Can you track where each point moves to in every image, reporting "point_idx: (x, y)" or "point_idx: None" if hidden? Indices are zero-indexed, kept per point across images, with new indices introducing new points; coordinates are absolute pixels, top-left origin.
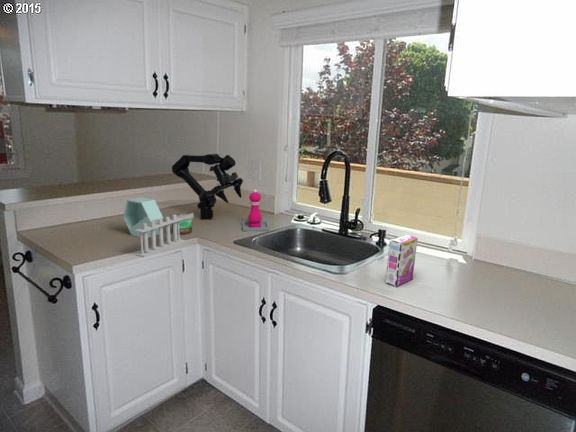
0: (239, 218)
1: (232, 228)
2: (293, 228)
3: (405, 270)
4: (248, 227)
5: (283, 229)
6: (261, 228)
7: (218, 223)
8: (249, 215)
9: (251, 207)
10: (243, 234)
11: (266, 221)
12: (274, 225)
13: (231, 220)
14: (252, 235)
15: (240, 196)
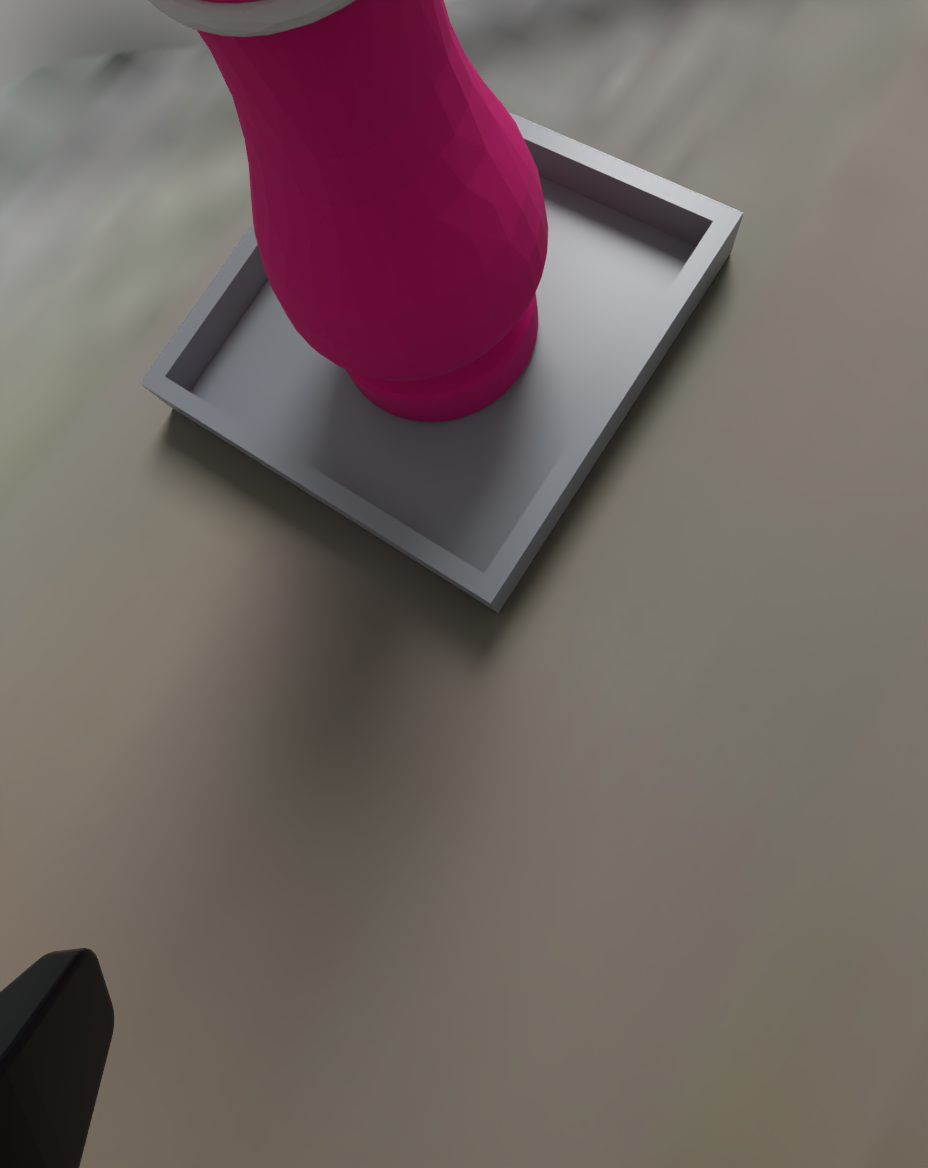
0: (294, 1054)
1: (802, 486)
2: (48, 71)
3: None
4: (556, 343)
5: (176, 85)
6: None
7: (886, 978)
8: (522, 185)
9: (429, 8)
10: (813, 108)
11: (162, 369)
12: (131, 303)
13: (517, 1019)
14: (717, 16)
15: (72, 998)
